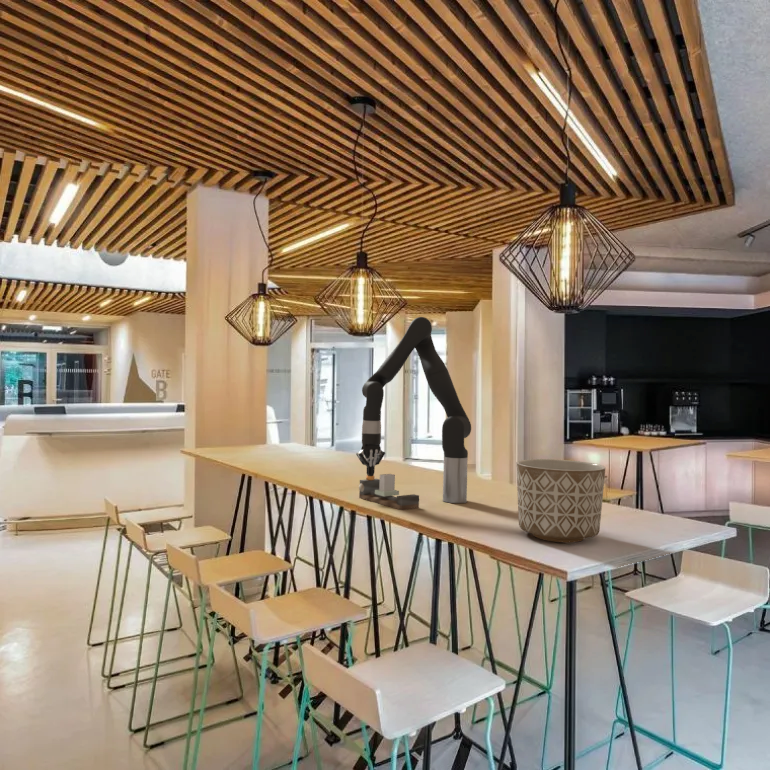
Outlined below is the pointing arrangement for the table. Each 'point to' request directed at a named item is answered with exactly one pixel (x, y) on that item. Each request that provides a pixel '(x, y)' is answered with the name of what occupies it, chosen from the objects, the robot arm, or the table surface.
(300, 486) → the table surface
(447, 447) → the robot arm
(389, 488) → the carriage
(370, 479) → the gauge button
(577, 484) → the planter
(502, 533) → the table surface
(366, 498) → the rail
